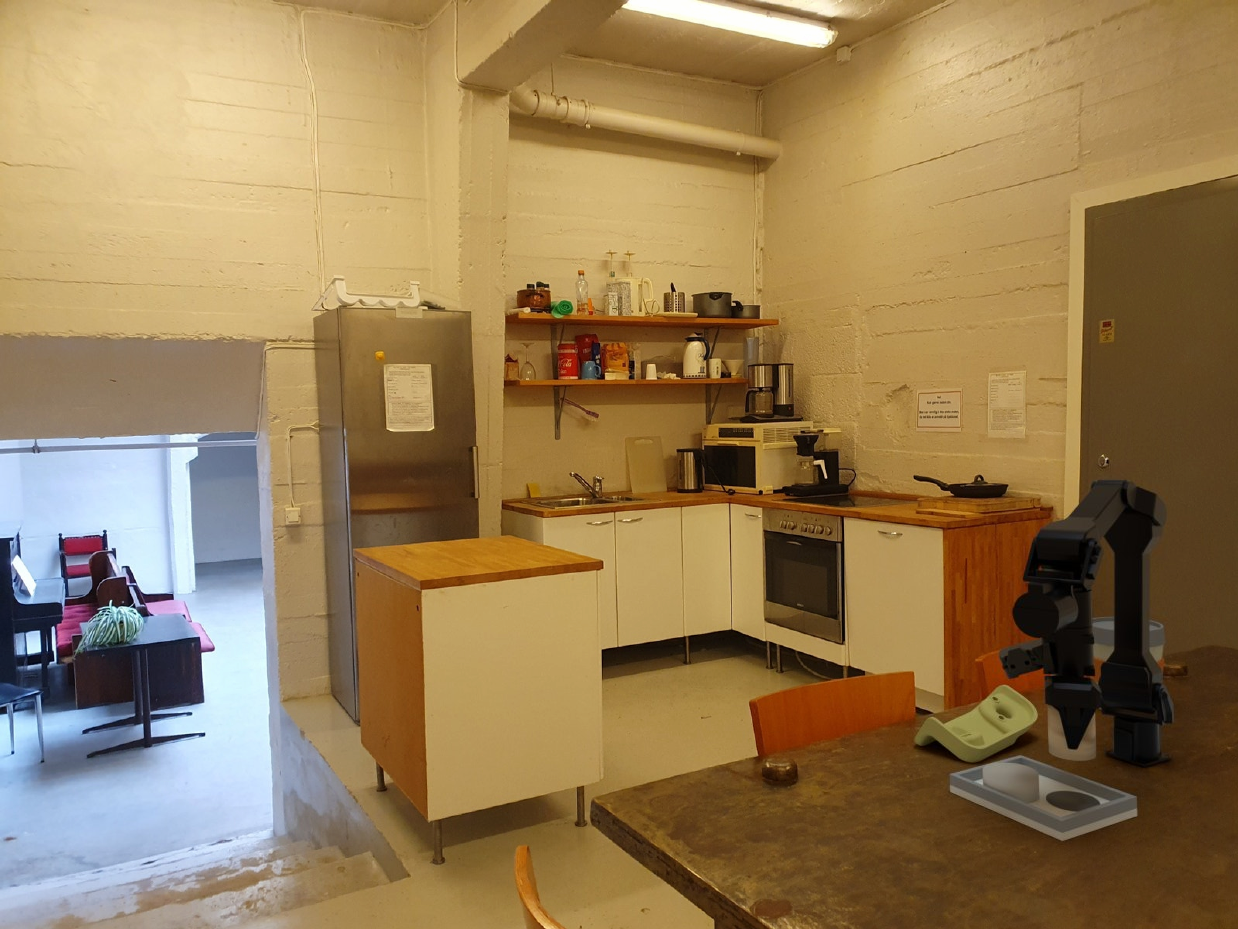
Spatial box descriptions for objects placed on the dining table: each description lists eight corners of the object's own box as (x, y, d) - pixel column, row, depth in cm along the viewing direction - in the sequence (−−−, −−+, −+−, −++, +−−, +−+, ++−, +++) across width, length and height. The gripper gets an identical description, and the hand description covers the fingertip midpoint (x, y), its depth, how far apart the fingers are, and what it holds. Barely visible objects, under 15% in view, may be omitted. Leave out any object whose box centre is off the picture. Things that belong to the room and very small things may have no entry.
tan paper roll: (1068, 743, 124) (1066, 696, 124) (1105, 755, 119) (1104, 706, 118) (1039, 750, 121) (1037, 703, 121) (1076, 763, 116) (1075, 714, 116)
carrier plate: (1021, 772, 134) (1020, 745, 134) (1137, 816, 117) (1136, 785, 117) (950, 791, 128) (949, 763, 127) (1062, 841, 111) (1061, 808, 111)
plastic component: (975, 752, 136) (923, 710, 143) (960, 789, 139) (909, 746, 146) (1049, 715, 147) (997, 678, 154) (1034, 750, 150) (983, 711, 157)
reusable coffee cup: (1183, 718, 154) (1181, 630, 154) (1108, 721, 154) (1106, 633, 154) (1141, 696, 167) (1139, 615, 166) (1072, 699, 167) (1070, 618, 166)
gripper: (1003, 607, 131) (1006, 715, 132) (999, 636, 114) (1003, 759, 115) (1090, 610, 127) (1093, 722, 127) (1099, 641, 110) (1103, 769, 110)
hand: (1071, 741), depth 120 cm, fingers closed on tan paper roll, 6 cm apart
